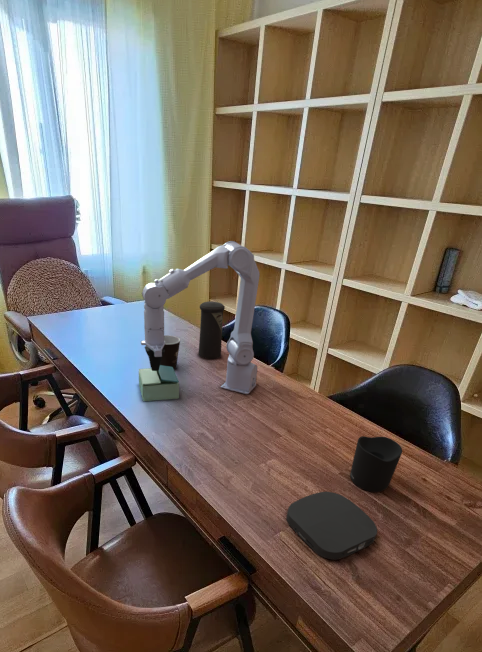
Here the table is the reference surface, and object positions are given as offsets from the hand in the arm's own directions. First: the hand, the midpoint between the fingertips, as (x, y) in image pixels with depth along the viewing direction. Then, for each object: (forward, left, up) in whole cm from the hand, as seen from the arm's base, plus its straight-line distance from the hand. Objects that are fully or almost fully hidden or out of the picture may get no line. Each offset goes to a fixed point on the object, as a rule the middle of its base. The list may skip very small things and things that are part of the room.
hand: (155, 369), depth 130 cm
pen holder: (-66, +13, -8) cm, 68 cm away
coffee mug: (+6, -20, -8) cm, 23 cm away
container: (-1, -36, -8) cm, 37 cm away
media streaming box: (-61, +33, -8) cm, 70 cm away
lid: (-3, -2, -2) cm, 4 cm away
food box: (-1, -1, -8) cm, 8 cm away
